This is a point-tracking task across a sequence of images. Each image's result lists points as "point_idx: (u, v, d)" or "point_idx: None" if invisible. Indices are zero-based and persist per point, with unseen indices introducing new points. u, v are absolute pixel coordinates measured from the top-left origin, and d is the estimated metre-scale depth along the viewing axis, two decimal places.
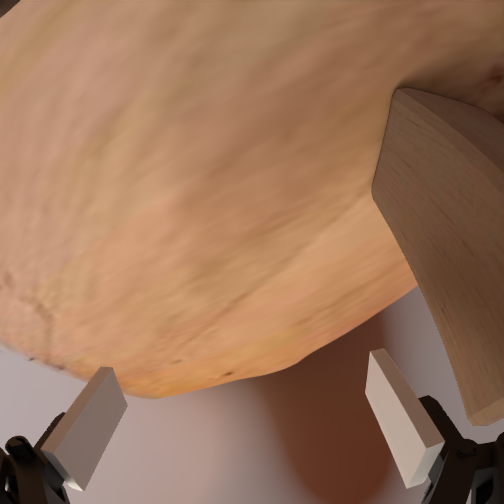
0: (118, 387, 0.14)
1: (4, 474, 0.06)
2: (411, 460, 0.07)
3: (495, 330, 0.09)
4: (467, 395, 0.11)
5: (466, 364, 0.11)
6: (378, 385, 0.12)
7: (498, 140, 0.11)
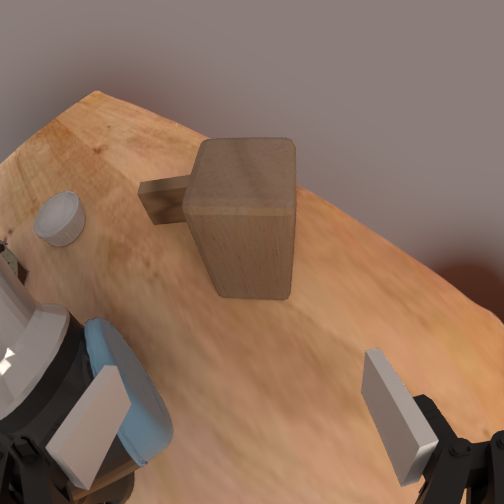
0: (122, 386, 0.14)
1: (8, 473, 0.06)
2: (405, 459, 0.08)
3: (243, 235, 0.27)
4: (282, 224, 0.26)
5: (274, 234, 0.27)
6: (373, 384, 0.12)
7: None
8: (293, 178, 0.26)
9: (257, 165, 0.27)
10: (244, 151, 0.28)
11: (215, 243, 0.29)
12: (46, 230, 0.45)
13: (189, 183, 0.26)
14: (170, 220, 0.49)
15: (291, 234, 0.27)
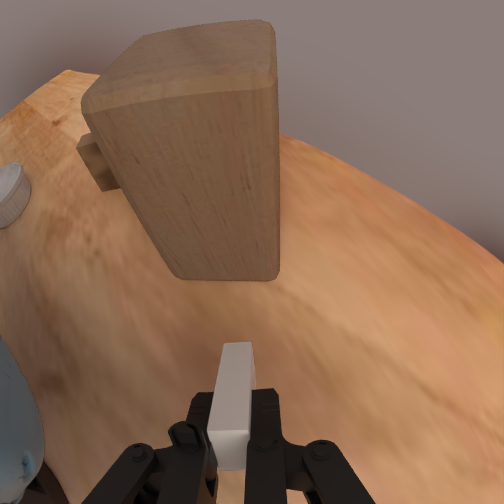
0: None
1: (143, 480, 0.07)
2: None
3: (184, 146, 0.14)
4: (252, 111, 0.12)
5: (239, 138, 0.14)
6: None
7: None
8: (271, 48, 0.13)
9: (211, 38, 0.13)
10: (194, 32, 0.14)
11: (142, 171, 0.16)
12: None
13: (101, 75, 0.13)
14: None
15: (272, 140, 0.14)
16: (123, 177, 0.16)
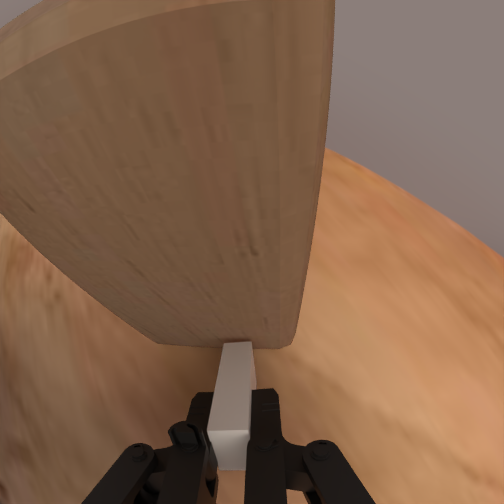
0: None
1: (143, 480, 0.07)
2: None
3: (99, 175, 0.06)
4: (266, 70, 0.04)
5: (227, 150, 0.05)
6: None
7: None
8: None
9: None
10: None
11: (45, 223, 0.07)
12: None
13: None
14: None
15: (313, 154, 0.05)
16: (24, 232, 0.07)
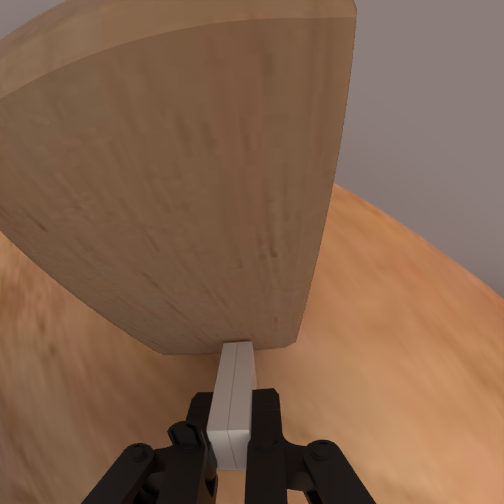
0: None
1: (142, 480, 0.07)
2: None
3: (124, 188, 0.06)
4: (304, 83, 0.04)
5: (260, 158, 0.05)
6: None
7: None
8: None
9: None
10: None
11: (57, 242, 0.07)
12: None
13: None
14: None
15: (335, 158, 0.06)
16: (31, 253, 0.07)
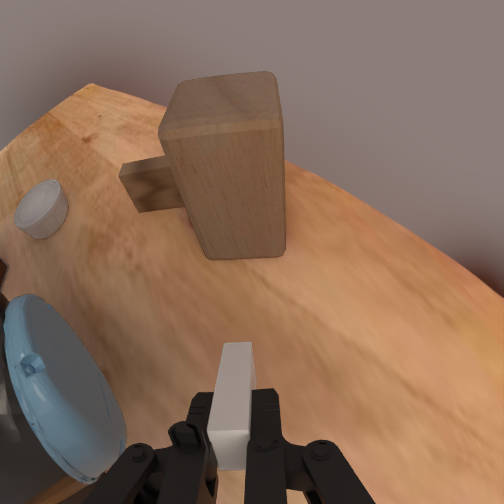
0: None
1: (143, 480, 0.07)
2: None
3: (227, 161, 0.24)
4: (269, 140, 0.22)
5: (261, 156, 0.23)
6: None
7: None
8: (277, 98, 0.22)
9: (237, 90, 0.23)
10: (223, 82, 0.24)
11: (197, 177, 0.25)
12: (25, 220, 0.39)
13: (166, 113, 0.23)
14: (156, 207, 0.43)
15: (280, 156, 0.24)
16: (183, 182, 0.26)
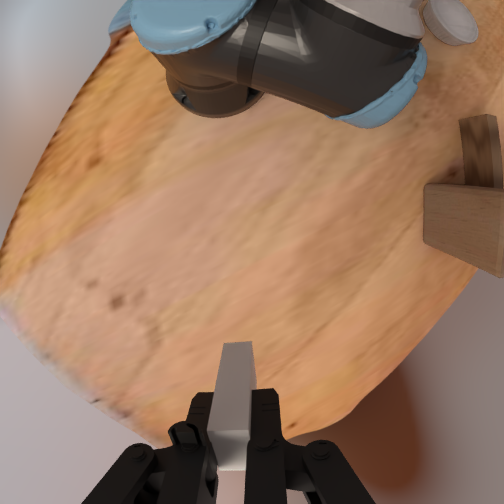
0: None
1: (143, 480, 0.07)
2: None
3: (483, 233, 0.27)
4: (489, 266, 0.26)
5: (483, 257, 0.27)
6: None
7: None
8: None
9: None
10: None
11: (477, 207, 0.28)
12: (437, 8, 0.29)
13: None
14: (463, 137, 0.39)
15: (481, 268, 0.28)
16: (476, 195, 0.28)
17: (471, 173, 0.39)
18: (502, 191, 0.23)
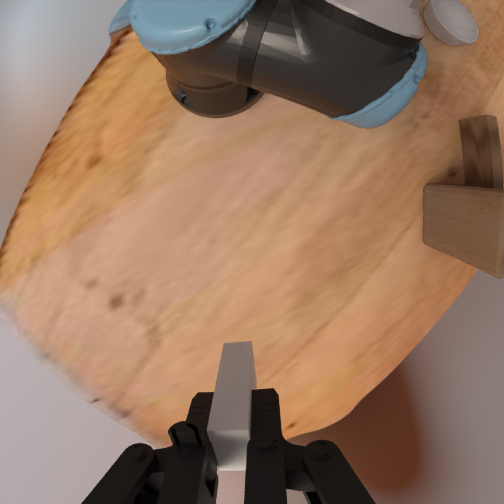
0: None
1: (143, 480, 0.07)
2: None
3: (483, 234, 0.27)
4: (489, 267, 0.26)
5: (482, 257, 0.27)
6: None
7: (466, 186, 0.33)
8: None
9: None
10: None
11: (477, 208, 0.28)
12: (438, 8, 0.29)
13: None
14: (463, 138, 0.39)
15: (480, 269, 0.28)
16: (475, 196, 0.28)
17: (471, 174, 0.39)
18: (502, 192, 0.23)
